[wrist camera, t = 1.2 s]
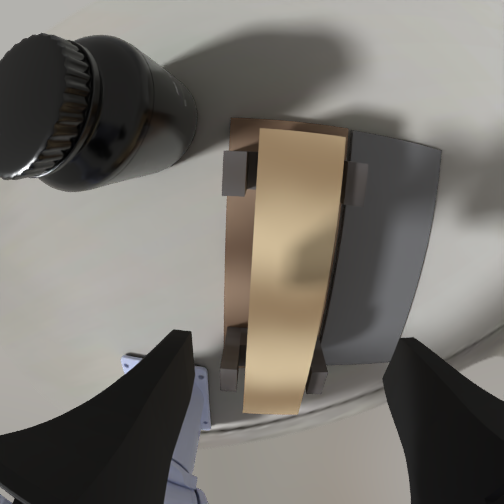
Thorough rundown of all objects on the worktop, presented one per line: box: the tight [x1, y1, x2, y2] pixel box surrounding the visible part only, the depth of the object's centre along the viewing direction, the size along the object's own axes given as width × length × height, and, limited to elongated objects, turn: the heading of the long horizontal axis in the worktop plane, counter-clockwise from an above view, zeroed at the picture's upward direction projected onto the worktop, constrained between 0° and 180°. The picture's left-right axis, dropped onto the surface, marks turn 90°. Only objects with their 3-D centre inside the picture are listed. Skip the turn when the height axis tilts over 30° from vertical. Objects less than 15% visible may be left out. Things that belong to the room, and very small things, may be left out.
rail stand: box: [220, 118, 369, 394], centre depth 17 cm, size 18×7×6 cm, turn 177°
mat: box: [320, 130, 442, 365], centre depth 19 cm, size 18×7×1 cm, turn 177°
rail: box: [243, 128, 346, 415], centre depth 15 cm, size 16×4×4 cm, turn 177°
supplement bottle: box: [0, 33, 197, 192], centre depth 11 cm, size 7×7×12 cm
